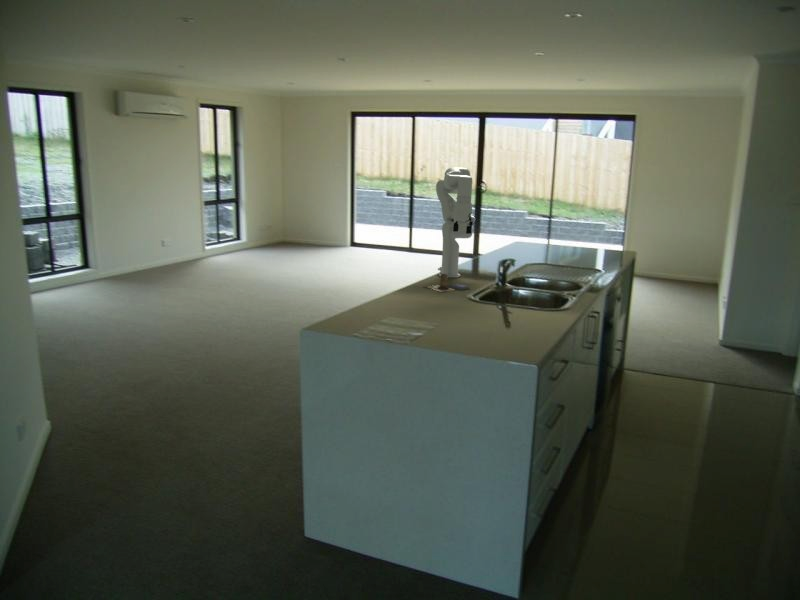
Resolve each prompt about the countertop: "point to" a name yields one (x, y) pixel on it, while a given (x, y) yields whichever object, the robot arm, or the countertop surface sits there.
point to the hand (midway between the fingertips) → (462, 232)
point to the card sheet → (439, 289)
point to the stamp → (443, 282)
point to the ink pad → (459, 286)
